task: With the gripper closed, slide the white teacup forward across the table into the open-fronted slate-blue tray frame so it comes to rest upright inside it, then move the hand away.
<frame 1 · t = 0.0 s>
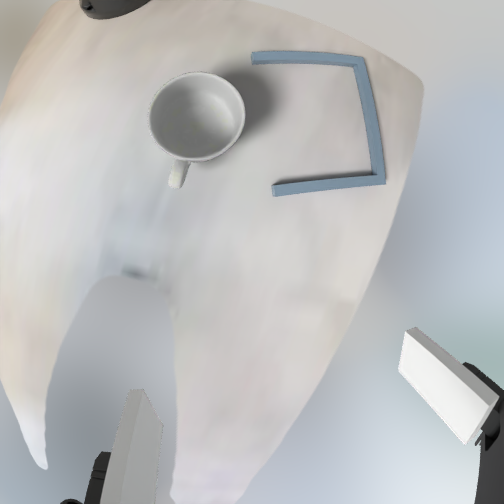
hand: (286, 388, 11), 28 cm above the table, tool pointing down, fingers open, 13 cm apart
teacup: (194, 137, 34), on the table
tray frame: (318, 118, 35), on the table
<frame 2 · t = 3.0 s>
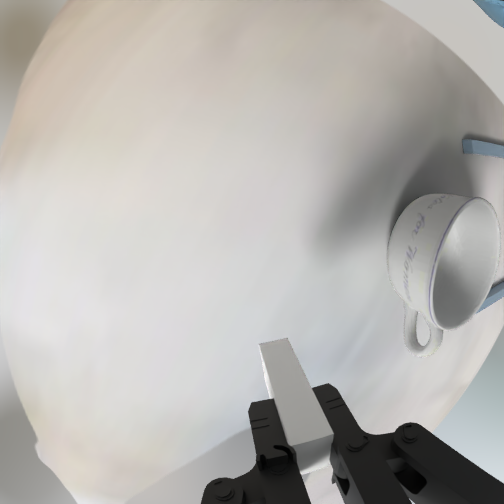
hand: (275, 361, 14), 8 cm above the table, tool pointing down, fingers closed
teacup: (407, 257, 23), on the table
tray frame: (497, 226, 24), on the table
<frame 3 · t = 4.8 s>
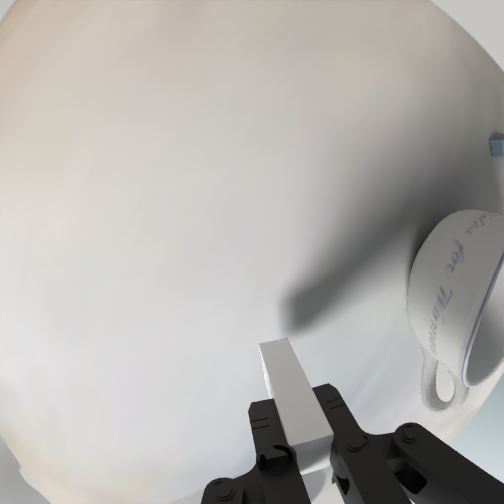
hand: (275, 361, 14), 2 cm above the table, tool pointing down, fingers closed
teacup: (428, 289, 17), on the table
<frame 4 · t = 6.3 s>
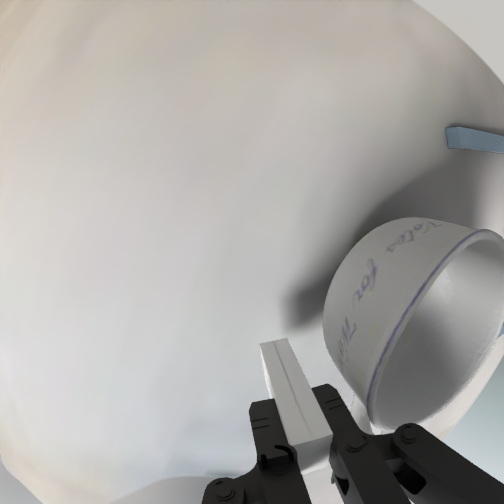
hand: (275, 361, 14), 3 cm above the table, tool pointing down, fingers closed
teacup: (368, 308, 17), on the table, touching gripper
tray frame: (498, 248, 18), on the table
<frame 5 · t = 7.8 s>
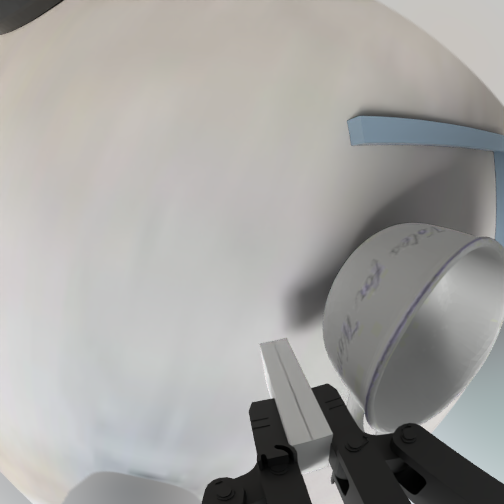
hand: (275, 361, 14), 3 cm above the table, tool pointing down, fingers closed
teacup: (366, 311, 17), on the table, touching gripper
tray frame: (448, 267, 17), on the table
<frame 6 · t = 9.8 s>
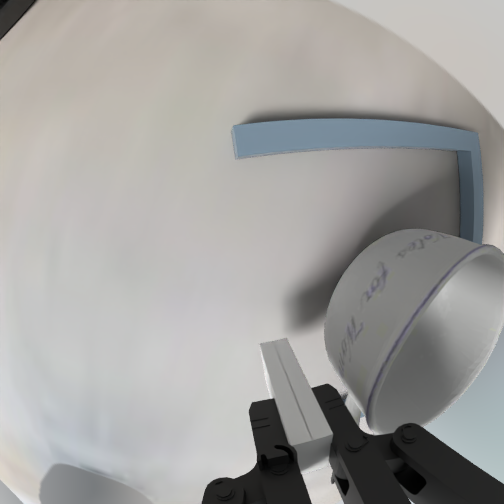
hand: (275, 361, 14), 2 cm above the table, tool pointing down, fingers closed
teacup: (366, 315, 17), on the table, touching gripper
tray frame: (384, 291, 16), on the table
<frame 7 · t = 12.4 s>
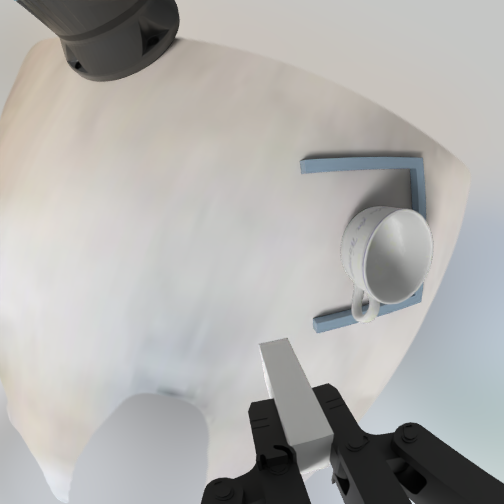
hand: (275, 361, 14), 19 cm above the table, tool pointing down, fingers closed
teacup: (360, 253, 34), on the table
tray frame: (368, 240, 33), on the table
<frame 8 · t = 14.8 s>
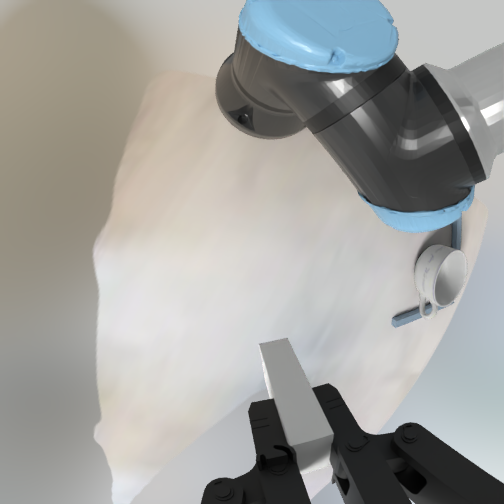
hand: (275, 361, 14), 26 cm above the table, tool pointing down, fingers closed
teacup: (421, 273, 46), on the table
tray frame: (427, 265, 45), on the table
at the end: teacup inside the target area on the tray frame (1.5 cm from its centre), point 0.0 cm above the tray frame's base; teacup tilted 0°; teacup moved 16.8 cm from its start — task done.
